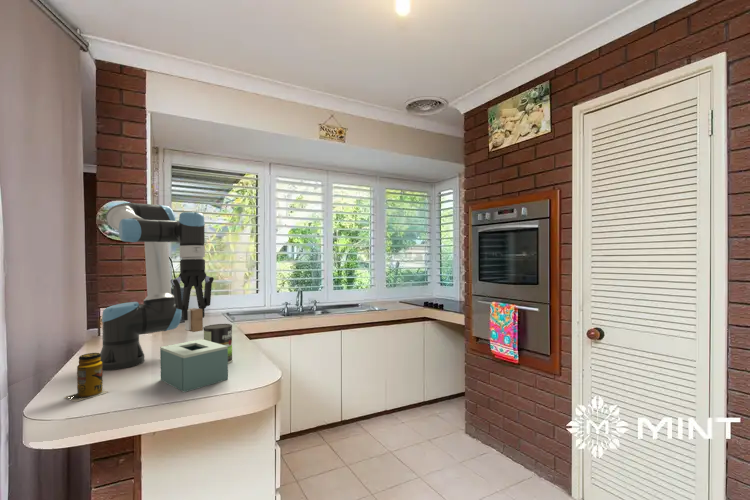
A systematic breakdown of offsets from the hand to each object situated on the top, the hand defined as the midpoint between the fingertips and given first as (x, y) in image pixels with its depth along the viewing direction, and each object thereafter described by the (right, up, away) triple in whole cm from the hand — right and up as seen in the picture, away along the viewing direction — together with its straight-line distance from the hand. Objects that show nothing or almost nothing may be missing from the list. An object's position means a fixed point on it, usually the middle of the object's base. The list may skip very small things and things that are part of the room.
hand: (193, 328), depth 121 cm
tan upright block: (0, 0, 0) cm, 1 cm away
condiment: (-26, -18, -12) cm, 34 cm away
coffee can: (0, -17, +20) cm, 26 cm away
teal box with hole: (0, -17, 0) cm, 17 cm away
